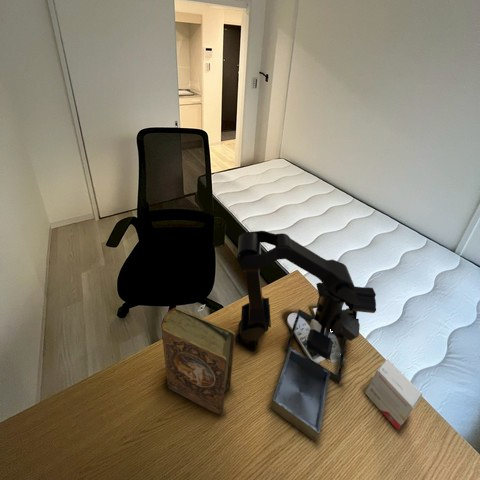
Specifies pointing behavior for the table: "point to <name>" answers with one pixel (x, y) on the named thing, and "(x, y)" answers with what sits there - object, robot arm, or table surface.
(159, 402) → the table surface
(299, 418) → the sink
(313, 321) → the usb wall charger
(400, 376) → the ink box
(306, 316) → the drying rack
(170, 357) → the book
